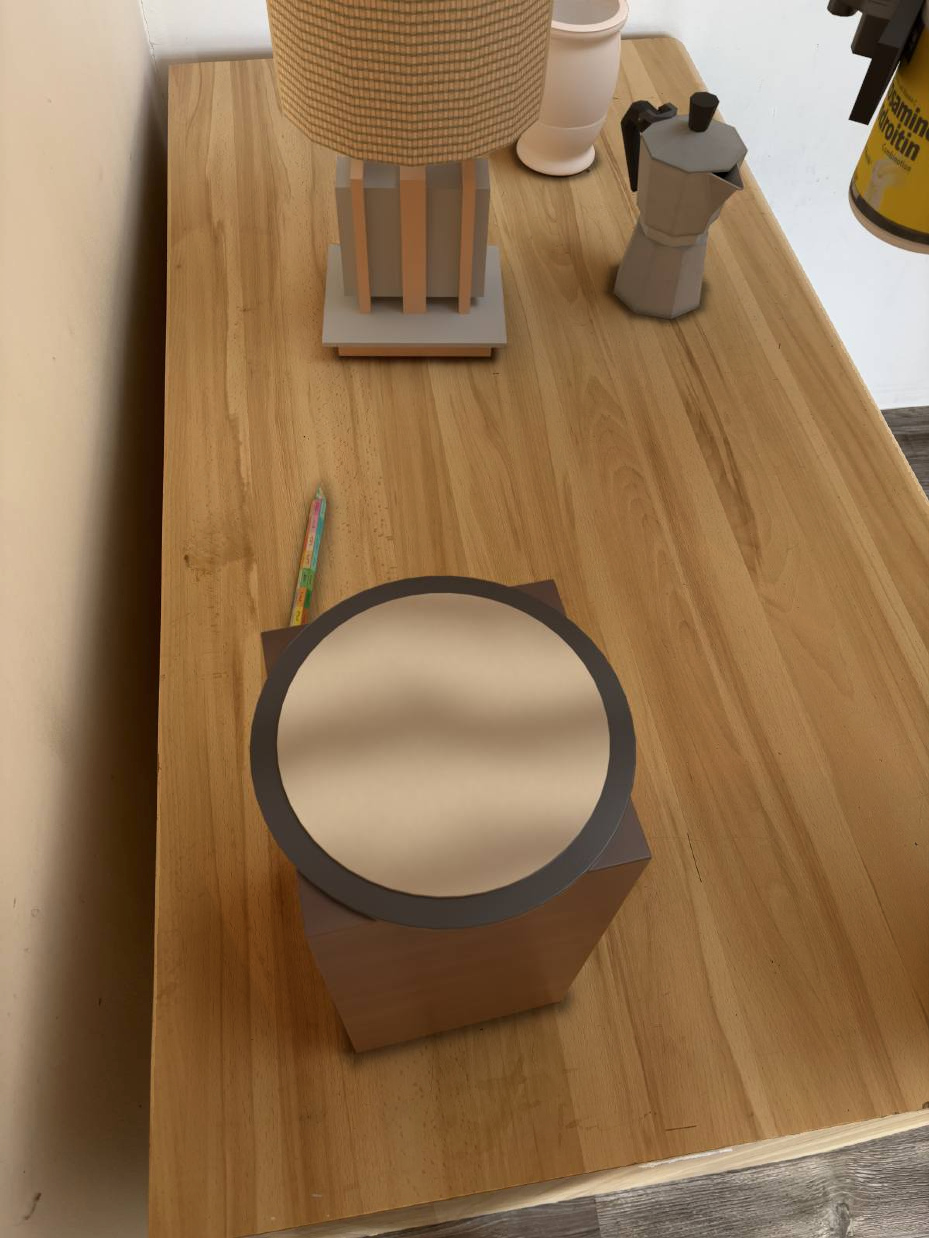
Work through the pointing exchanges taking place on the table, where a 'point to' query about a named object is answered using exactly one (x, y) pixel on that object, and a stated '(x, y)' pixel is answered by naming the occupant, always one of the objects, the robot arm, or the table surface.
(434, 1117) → the table surface
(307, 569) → the pencil
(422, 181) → the desk lamp
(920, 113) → the pill bottle
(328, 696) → the tall brown block
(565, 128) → the jar
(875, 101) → the robot arm
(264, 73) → the table surface
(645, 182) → the coffee maker
